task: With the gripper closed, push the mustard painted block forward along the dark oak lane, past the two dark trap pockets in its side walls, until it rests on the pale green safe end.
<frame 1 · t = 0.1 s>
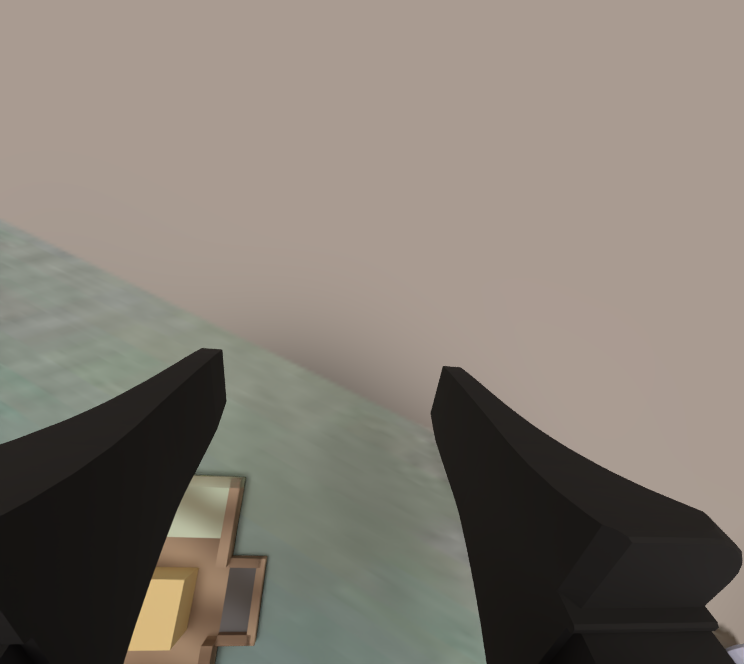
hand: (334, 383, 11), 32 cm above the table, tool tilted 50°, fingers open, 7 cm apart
block: (165, 597, 33), resting on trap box
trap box: (174, 565, 35), on the table
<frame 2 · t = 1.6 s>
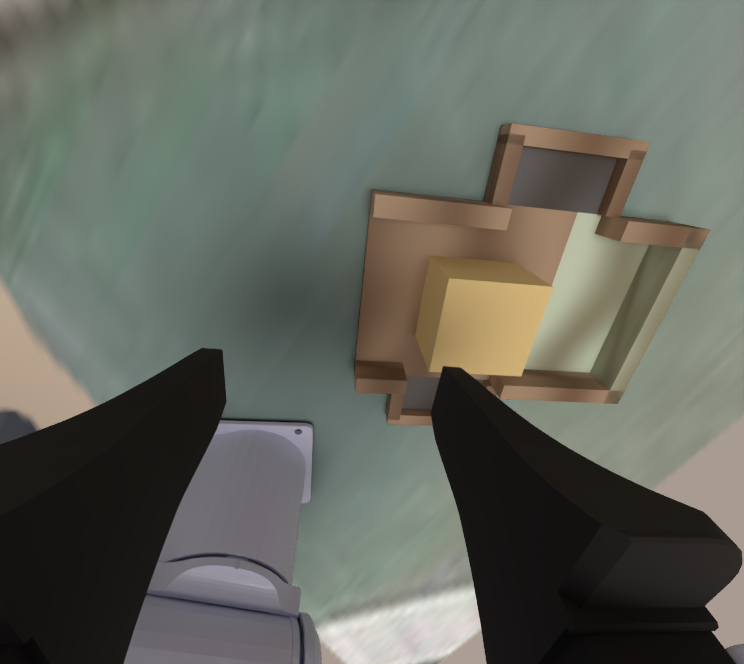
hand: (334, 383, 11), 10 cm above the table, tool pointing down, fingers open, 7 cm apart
block: (463, 300, 20), resting on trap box
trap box: (500, 300, 21), on the table
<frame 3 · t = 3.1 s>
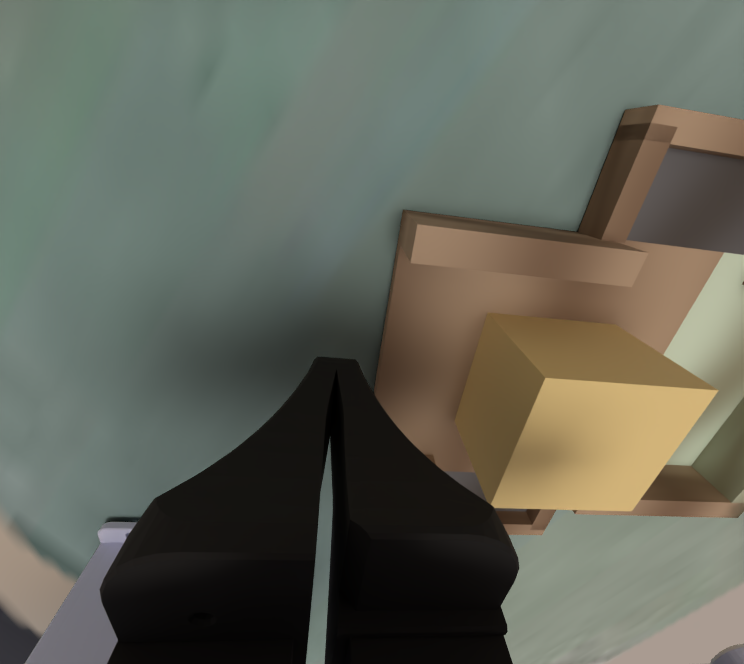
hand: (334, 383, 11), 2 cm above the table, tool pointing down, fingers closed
block: (530, 375, 14), resting on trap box
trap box: (580, 372, 14), on the table
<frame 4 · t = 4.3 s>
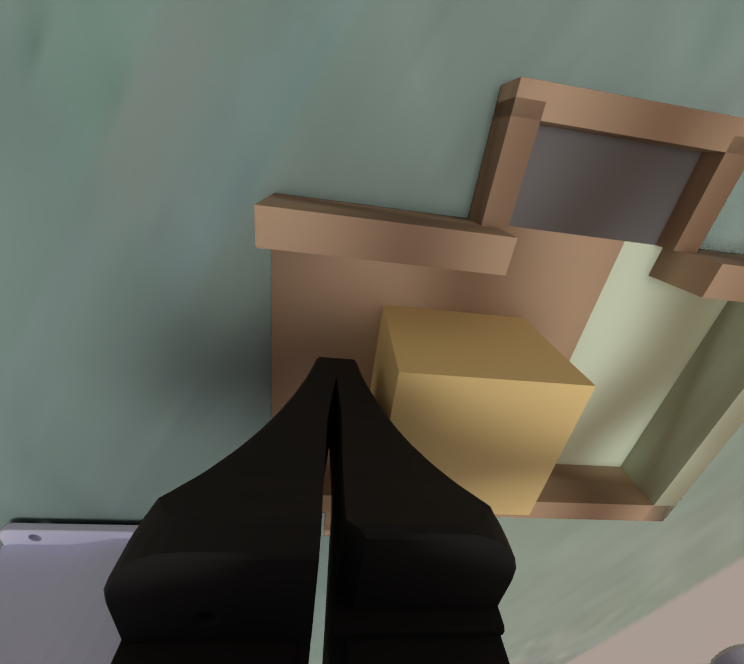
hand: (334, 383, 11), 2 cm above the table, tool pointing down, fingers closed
block: (439, 371, 13), point 1 cm above the table, touching gripper
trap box: (492, 369, 14), on the table
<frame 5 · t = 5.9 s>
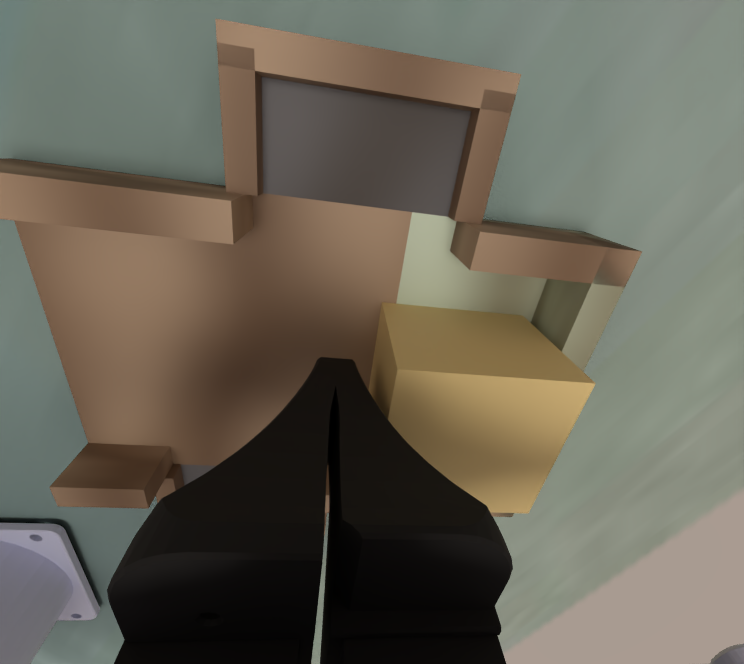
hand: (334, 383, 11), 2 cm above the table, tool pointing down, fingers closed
block: (438, 369, 13), resting on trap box, touching gripper
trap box: (315, 354, 13), on the table
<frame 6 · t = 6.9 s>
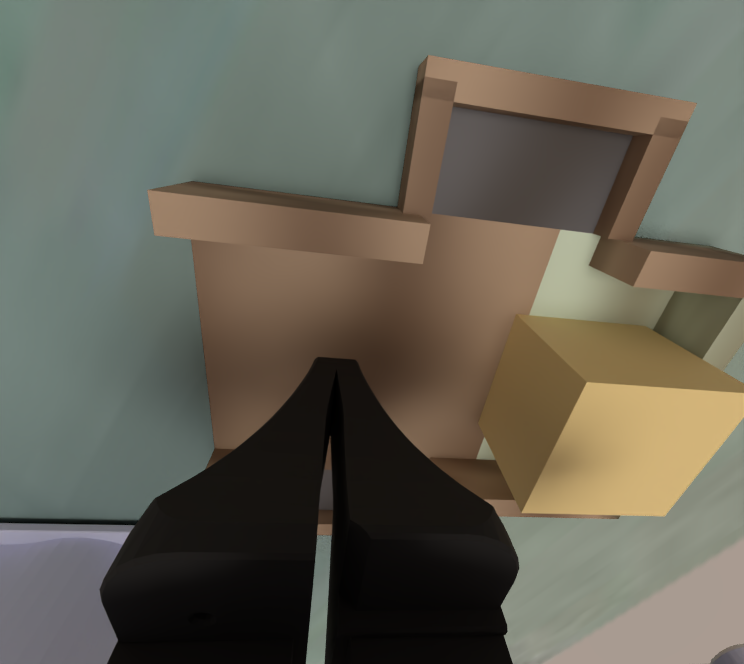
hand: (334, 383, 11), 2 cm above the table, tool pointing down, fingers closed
block: (556, 377, 13), resting on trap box
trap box: (438, 363, 13), on the table
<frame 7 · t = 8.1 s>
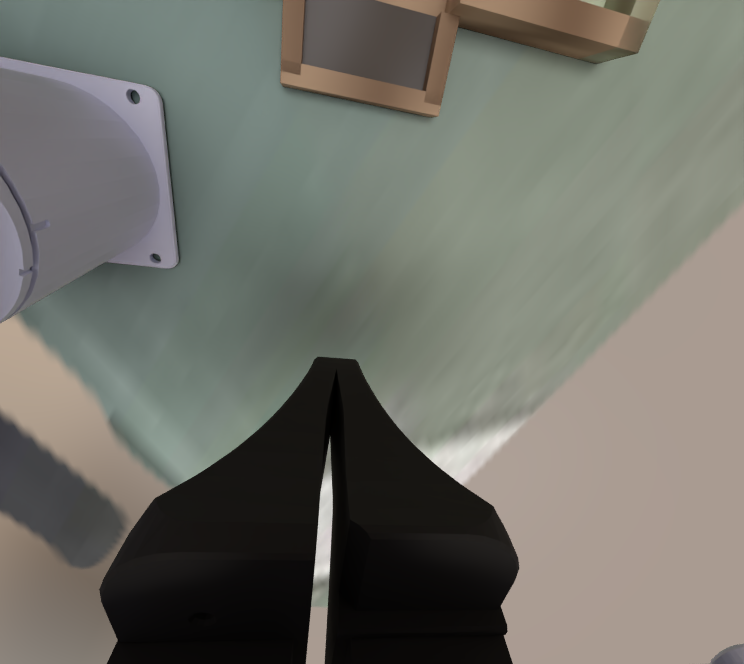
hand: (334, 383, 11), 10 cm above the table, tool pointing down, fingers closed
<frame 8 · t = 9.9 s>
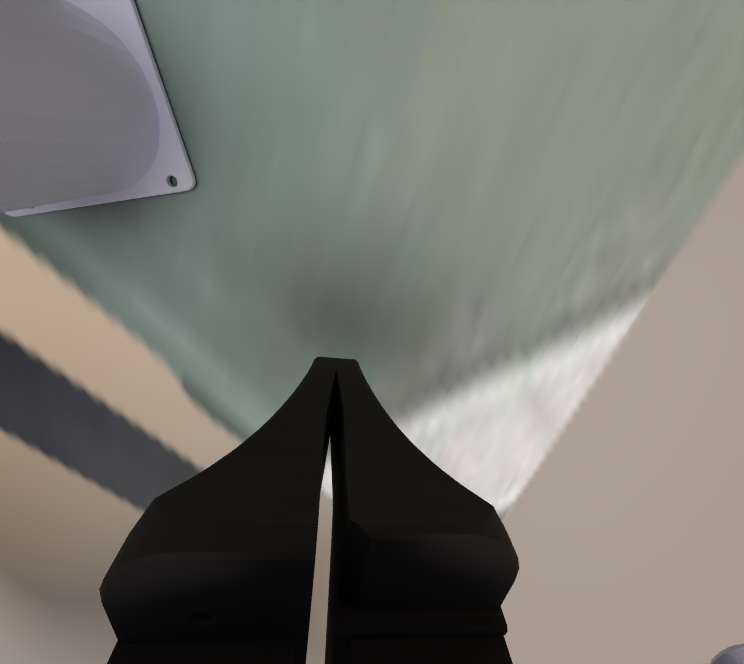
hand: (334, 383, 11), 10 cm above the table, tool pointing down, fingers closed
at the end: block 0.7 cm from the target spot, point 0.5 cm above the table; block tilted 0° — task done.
